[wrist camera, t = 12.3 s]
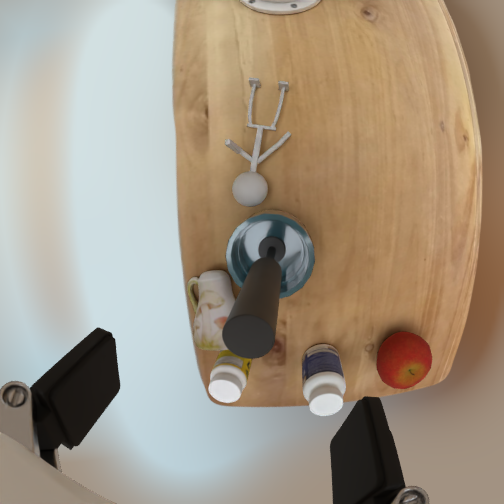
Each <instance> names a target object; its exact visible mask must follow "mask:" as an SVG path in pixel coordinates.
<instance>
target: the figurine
mask: <svg viewBox="0 0 504 504" xmlns="http://www.w3.org/2000/svg"><path fill="white" fill-rule="evenodd" d="M249 82H250V86H251V87H252V91H251V95H250V100H249V110H248V120H249V124H247V127H252V128H258V130H257V135H256V140H255V145H254V150H253V155H252V156H250V155H249V154H248V153H246V152H245V151H244V150H242V148H240V147H239V146H238V145H237V144H235V143H234V142H233V141H232V140H231V139H227V140H225V145H226V146H227V147H229V148H230V149H232V150H233V151H234V152H236V153H237V154H241V155H242V156H243V157H245V158H246V159H247V160H249V161H250V162H251V168H250V171H249V172H244V173H242V174H240V175H239V176H238V177H237V178H236V179H235V181H234V183H233V186H232V192H233V195H234V197H235V199H236V200H237V202H239V203H240V204H242V205H244V206H248V207H252V206H256V205H258V204H260V203H261V202H262V201H263V200H264V199H265V198H266V195H267V192H268V186H267V183H266V180H265V179H264V178H263V176H261V175H260V174H258V173H256V169H257V164H258V163H259V164H260V163H261V162H262V161H263V160H264V159H265V158H267V157H268V156H269V155H270V154H272V153H273V152H274V151H275V150H276V149H278V148H279V147H280V146H281V145H282V144H283V143H284V142H285V141H286V140H287V139H288V138H289V137H290V136H291V134H290V133H289V132H287V133H286V134H285V135H284V136H283V137H282V138H281V139H280V140H279V141H278V142H277V143H276V144H275V145H273V146H272V147H271V148H270V149H269V150H267V151H266V152H265V153H264V154H262V155H261V156H260V157H259V153H260V147H261V141H262V134H263V129H267V130H274V131H276V127H275V125H276V123H277V121H278V118H279V114H280V111H281V107H282V103H283V97H284V92H285V91H288V90H289V82H284V81H279V83H278V84H279V90H281V96H280V101H279V106H278V109H277V112H276V116H275V119H274V122H273V124H272V126H271V127H270V126H263V125H255V124H252V119H251V115H252V103H253V98H254V94H255V89H256V87H258V88H260V86H261V85H260V81H259V78H249Z"/></svg>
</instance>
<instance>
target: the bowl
mask: <svg viewBox="0 0 504 504" xmlns="http://www.w3.org/2000/svg"><path fill="white" fill-rule="evenodd" d="M269 236H275V237H278V238H280V239H281V240H282V241H283V242H284V244H285V247H286V252H285V256H284V257H283V259H282V260H281V261H279V262H278V263H279V265H280V267H281V270H282V277H281V287H280V297H279V299H280V298H284V297H288V296H290V295H292V294H293V293H295V292H296V291H298V290H299V289H301V288H302V287H303V286H304V284H305V283H306V282H307V280H308V279H309V278H310V276H311V273H312V270H313V266H314V263H315V256H314V246H313V243H312V241H311V238H310V236H309V234H308V232H307V230H306V228H305V226H304V224H303V223H301V222H300V221H299V220H298V219H297V218H296V217H295V216H294V215H291V214H289V213H287V212H284V211H282V210H264V211H260V212H257V213H254V214H253V215H251V216H250V217H249V218H247V219H246V220H245V221H244V222H242V223H241V224H240V225H239V226H238V227H237V228H236V229H235V230H234V232H233V234H232V235H231V237H230V239H229V241H228V245H227V250H226V261H227V267H228V271H229V273H230V274H231V276H232V278H233V280H234V282H235V283H236V284H237V285H238V286H239V287H240V288H242V286H243V283H244V281H245V279H246V277H247V275H248V273H249V270H250V268H251V266H252V264H253V263H254V262H255V261H256V260H257V259H259V258H261V257H260V256H259V253H258V247H259V244H260V243H261V241H262V240H263V239H264V238H266V237H269Z"/></svg>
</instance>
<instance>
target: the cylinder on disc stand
mask: <svg viewBox="0 0 504 504" xmlns="http://www.w3.org/2000/svg"><path fill="white" fill-rule="evenodd" d="M285 252H286V247H285V244H284V242H283V241H282V240H281V239H280V238H278V237H275V236H269V237H266V238H264V239H263V240H262V241H261V243H260V244H259V247H258V253H259V256H260V257H261V258H259V259H257V260H256V261H255V262H254V263H253V264H252V266H251V268H250V270H249V273H248V275H247V277H246V279H245V281H244V283H243V286H242V288H241V290H240V292H239V294H238V297H237V299H236V301H235V303H234V305H233V307H232V310H231V312H230V314H229V316H228V318H227V320H226V323H225V325H224V327H223V330H222V338H223V341H224V344H225V346H226V347H227V348H228V349H229V350H230V351H231V352H232V353H233V354H235V355H237V356H239V357H242V358H247V359H254V358H259V357H262V356H264V355H265V354H267V353H268V352H269V351H270V350H271V349H272V347H273V345H274V342H275V334H276V325H277V316H278V307H279V297H280V287H281V277H282V270H281V267H280V265H279V263H278V262H279V261H281V260H282V259H283V257H284V256H285Z"/></svg>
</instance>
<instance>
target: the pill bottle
mask: <svg viewBox="0 0 504 504" xmlns="http://www.w3.org/2000/svg"><path fill="white" fill-rule="evenodd" d="M302 378H303V394H304V397H305V398H306V400H307V401H309V408H310V410H311V412H313V413H314V414H316V415H321V416H327V415H331V414H334V413H336V412H337V411H339V410H340V409H341V408H342V406H343V395H344V393H345V390H346V383H345V378H344V374H343V370H342V365H341V361H340V357H339V353H338V351H337V350H336V349H335V348H334V347H332V346H330V345H326V344H320V345H315V346H313V347H311V348H309V349H308V350H307V351H306V352H305V353H304V355H303V358H302Z"/></svg>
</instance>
